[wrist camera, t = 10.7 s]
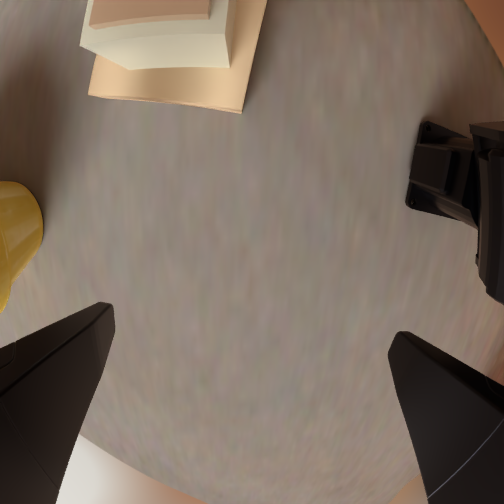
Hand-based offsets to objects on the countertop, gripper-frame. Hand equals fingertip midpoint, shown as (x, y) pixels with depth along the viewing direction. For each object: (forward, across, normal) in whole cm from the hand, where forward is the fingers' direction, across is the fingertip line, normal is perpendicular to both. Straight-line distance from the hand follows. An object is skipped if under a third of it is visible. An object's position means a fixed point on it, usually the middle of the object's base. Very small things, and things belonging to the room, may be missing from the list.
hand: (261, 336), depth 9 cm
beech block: (+13, +6, -12) cm, 18 cm away
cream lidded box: (+10, +5, -12) cm, 16 cm away
